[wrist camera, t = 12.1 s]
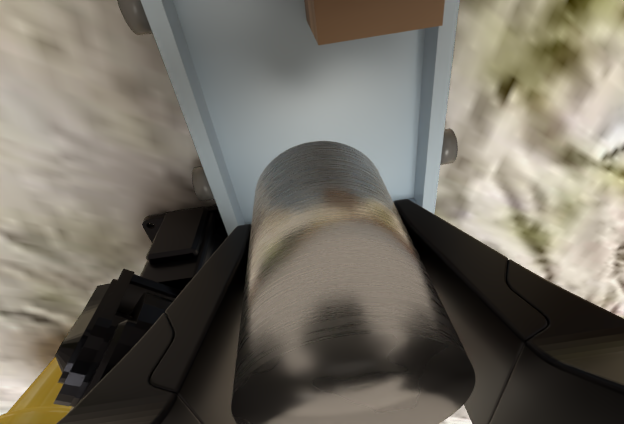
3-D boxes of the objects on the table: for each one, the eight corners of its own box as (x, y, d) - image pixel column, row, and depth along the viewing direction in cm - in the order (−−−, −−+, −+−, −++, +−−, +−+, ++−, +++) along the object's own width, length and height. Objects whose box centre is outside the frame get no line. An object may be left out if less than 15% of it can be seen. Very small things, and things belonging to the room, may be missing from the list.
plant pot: (162, 333, 30) (120, 465, 22) (156, 389, 35) (121, 510, 28) (29, 318, 27) (-73, 461, 19) (45, 381, 33) (-29, 511, 25)
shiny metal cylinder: (383, 238, 11) (458, 434, 7) (270, 256, 12) (262, 462, 7) (382, 130, 9) (497, 313, 4) (239, 153, 9) (193, 359, 4)
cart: (436, 199, 23) (449, 218, 21) (223, 230, 23) (218, 252, 21) (483, -200, 12) (517, -228, 10) (85, -133, 12) (52, -150, 11)
